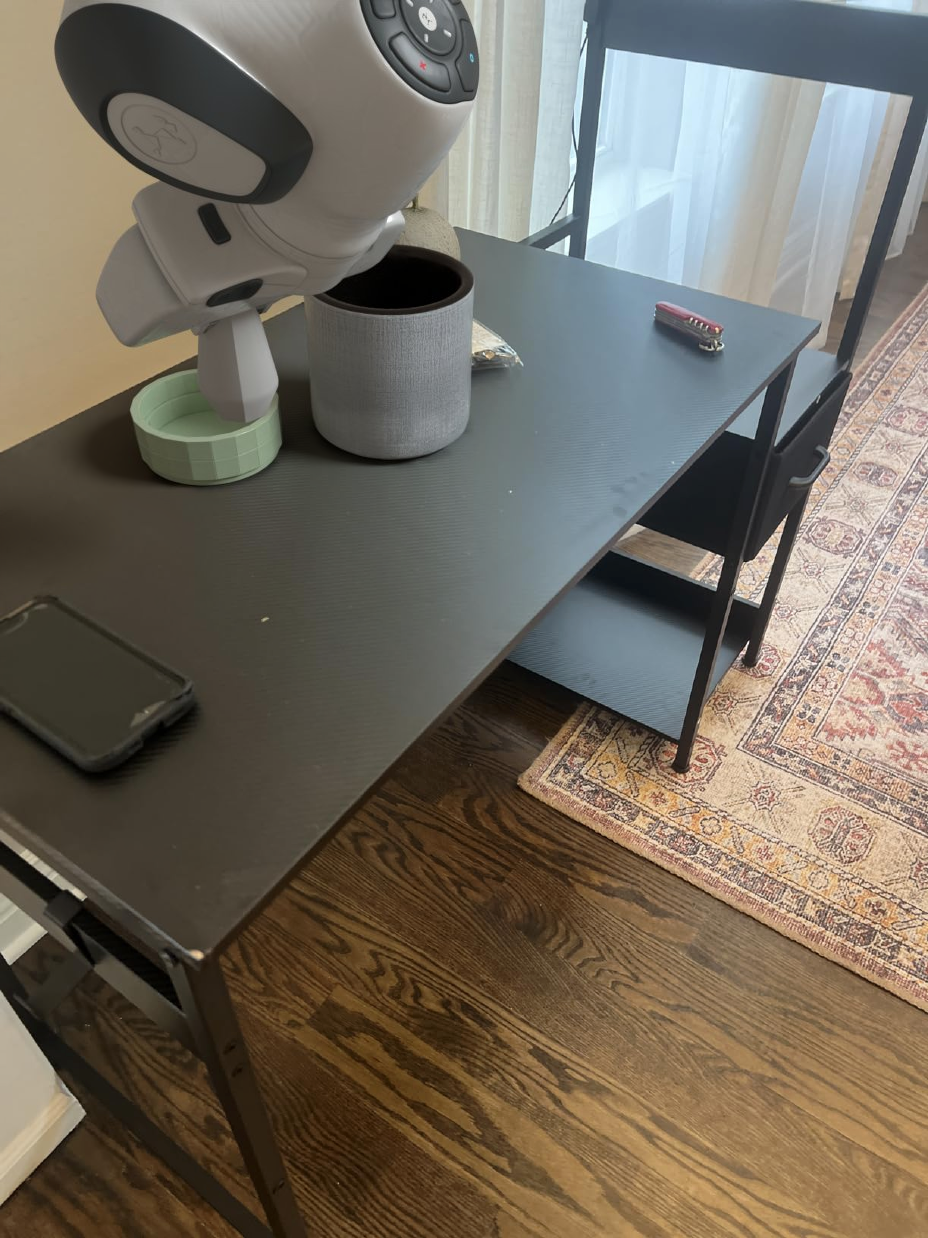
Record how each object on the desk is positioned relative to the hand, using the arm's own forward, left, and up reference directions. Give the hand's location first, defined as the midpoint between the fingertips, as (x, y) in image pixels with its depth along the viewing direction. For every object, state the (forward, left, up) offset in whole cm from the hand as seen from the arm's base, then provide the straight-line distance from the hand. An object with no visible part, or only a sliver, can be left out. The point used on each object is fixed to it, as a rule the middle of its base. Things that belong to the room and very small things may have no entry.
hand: (224, 314), depth 65 cm
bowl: (0, +18, -21) cm, 28 cm away
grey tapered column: (0, -1, -7) cm, 7 cm away
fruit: (+31, +42, -22) cm, 56 cm away
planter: (+18, +16, -22) cm, 32 cm away
